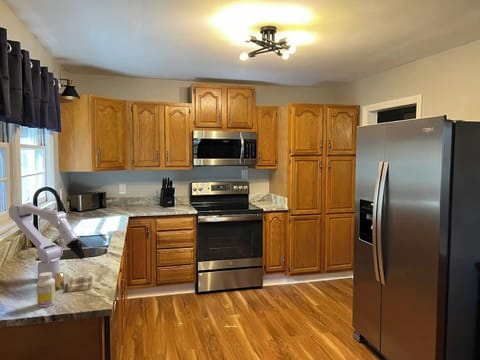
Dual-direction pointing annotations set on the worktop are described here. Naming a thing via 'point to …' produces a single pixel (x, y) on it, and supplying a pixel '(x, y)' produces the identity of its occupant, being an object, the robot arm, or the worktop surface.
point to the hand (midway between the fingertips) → (81, 256)
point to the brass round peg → (59, 281)
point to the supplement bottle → (46, 290)
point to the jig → (80, 283)
